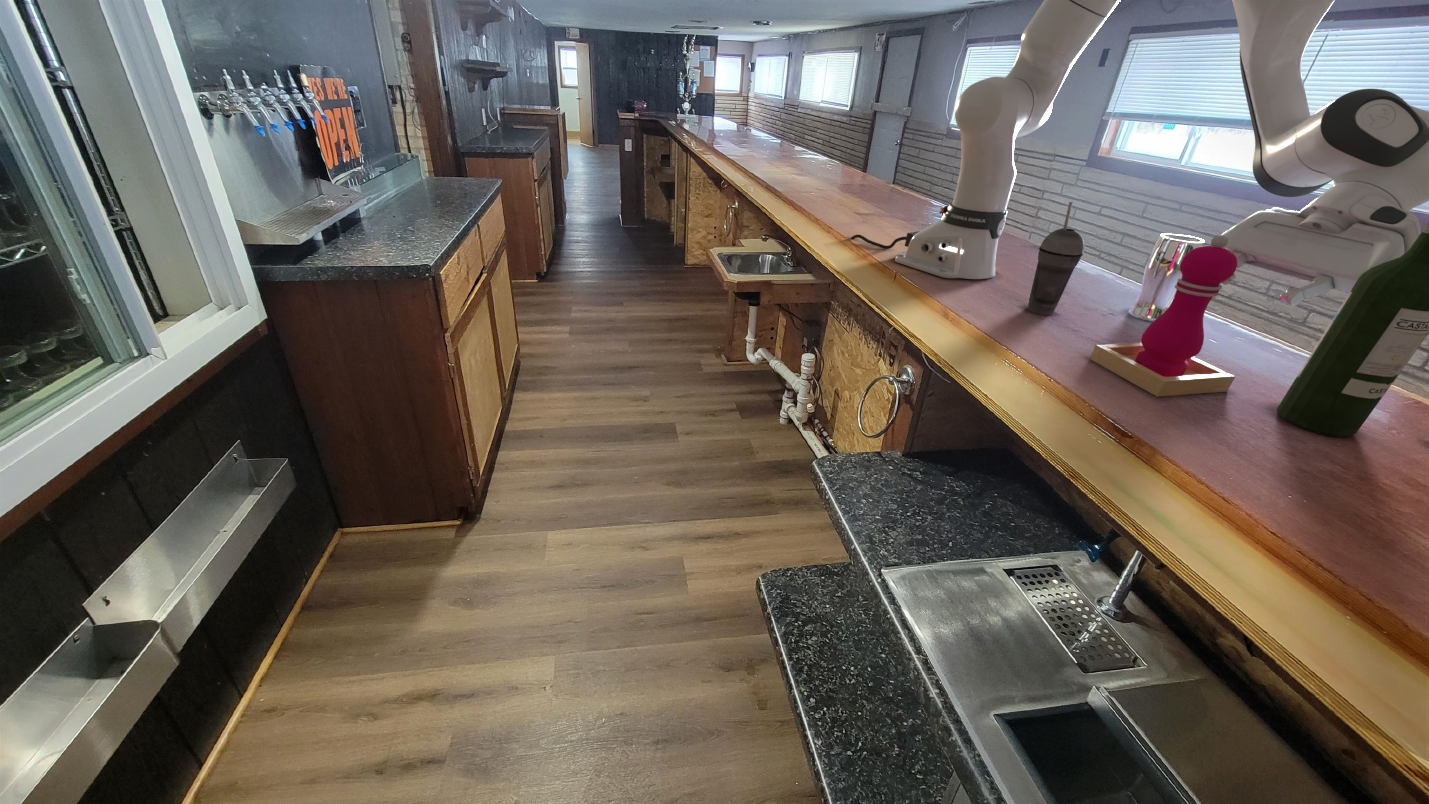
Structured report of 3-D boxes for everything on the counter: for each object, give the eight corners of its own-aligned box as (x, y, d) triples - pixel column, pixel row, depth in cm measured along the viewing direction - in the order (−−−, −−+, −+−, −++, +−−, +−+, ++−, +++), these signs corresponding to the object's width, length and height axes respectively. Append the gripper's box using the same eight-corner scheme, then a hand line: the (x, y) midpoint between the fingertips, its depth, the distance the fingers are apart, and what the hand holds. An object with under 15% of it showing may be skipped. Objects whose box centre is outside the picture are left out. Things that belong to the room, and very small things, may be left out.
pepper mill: (1190, 369, 86) (1259, 236, 76) (1183, 384, 81) (1255, 244, 71) (1135, 354, 90) (1193, 226, 80) (1125, 367, 85) (1186, 233, 75)
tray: (1089, 359, 90) (1095, 344, 89) (1153, 355, 92) (1160, 341, 91) (1157, 397, 79) (1165, 381, 78) (1227, 391, 82) (1235, 376, 81)
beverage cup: (1045, 319, 105) (1084, 208, 95) (1011, 307, 110) (1045, 200, 100) (1069, 314, 108) (1110, 206, 98) (1035, 302, 113) (1070, 198, 103)
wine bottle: (1344, 444, 70) (1527, 191, 55) (1266, 415, 76) (1412, 179, 61) (1363, 428, 74) (1539, 187, 59) (1287, 401, 80) (1430, 176, 65)
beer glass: (1155, 311, 112) (1190, 234, 104) (1176, 324, 106) (1215, 244, 98) (1118, 308, 112) (1150, 232, 105) (1137, 321, 106) (1173, 241, 99)
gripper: (1261, 191, 85) (1179, 256, 88) (1434, 220, 68) (1326, 300, 71) (1268, 221, 89) (1189, 283, 91) (1436, 256, 71) (1332, 331, 74)
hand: (1250, 291), depth 81 cm, fingers open, 8 cm apart
